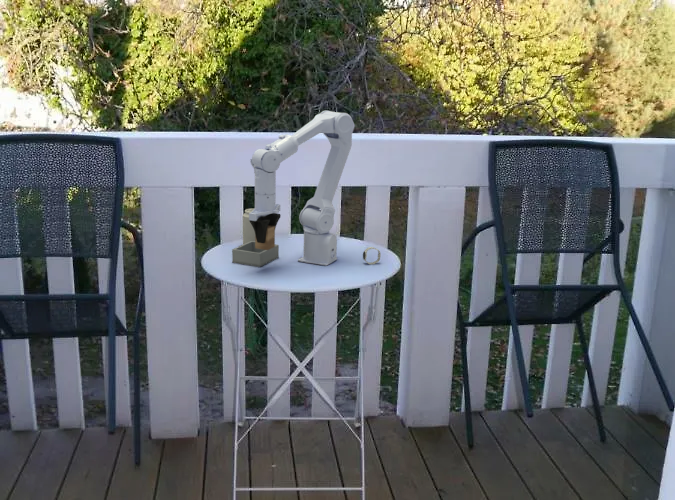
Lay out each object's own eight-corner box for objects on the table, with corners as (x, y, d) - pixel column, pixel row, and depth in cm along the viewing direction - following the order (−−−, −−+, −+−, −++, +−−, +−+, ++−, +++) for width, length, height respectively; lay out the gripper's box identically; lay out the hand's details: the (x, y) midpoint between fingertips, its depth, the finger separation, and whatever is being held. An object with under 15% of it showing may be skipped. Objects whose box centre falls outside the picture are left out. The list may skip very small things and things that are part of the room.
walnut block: (274, 246, 206) (274, 226, 204) (267, 250, 202) (267, 229, 201) (262, 244, 207) (262, 224, 206) (255, 248, 204) (255, 227, 202)
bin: (278, 257, 218) (278, 244, 217) (260, 267, 208) (260, 253, 207) (251, 253, 222) (251, 240, 221) (232, 262, 212) (232, 249, 211)
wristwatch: (362, 262, 216) (362, 246, 215) (378, 262, 217) (378, 246, 216) (364, 265, 213) (365, 249, 212) (381, 264, 214) (381, 248, 213)
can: (263, 251, 225) (263, 213, 222) (239, 249, 226) (239, 211, 223) (269, 245, 232) (269, 208, 229) (246, 243, 233) (246, 206, 230)
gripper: (265, 199, 193) (265, 248, 196) (290, 190, 206) (289, 236, 209) (242, 196, 195) (242, 245, 199) (268, 187, 208) (267, 233, 212)
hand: (265, 240), depth 204 cm, fingers closed on walnut block, 4 cm apart
